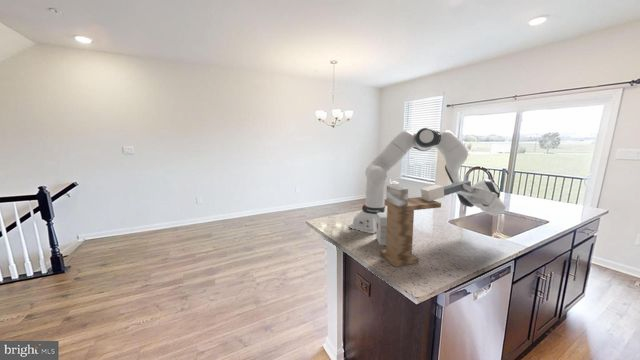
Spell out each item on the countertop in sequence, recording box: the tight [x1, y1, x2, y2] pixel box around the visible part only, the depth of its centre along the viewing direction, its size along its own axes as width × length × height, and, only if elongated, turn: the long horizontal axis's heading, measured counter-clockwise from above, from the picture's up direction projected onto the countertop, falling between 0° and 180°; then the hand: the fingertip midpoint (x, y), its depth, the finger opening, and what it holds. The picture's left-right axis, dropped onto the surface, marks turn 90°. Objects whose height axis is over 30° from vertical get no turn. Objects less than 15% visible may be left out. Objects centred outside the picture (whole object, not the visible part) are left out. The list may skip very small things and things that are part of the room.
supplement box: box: [376, 212, 387, 246], centre depth 127 cm, size 9×9×15 cm
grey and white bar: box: [420, 179, 472, 202], centre depth 112 cm, size 24×5×5 cm, turn 105°
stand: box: [379, 184, 442, 268], centre depth 109 cm, size 22×12×33 cm, turn 105°
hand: (458, 184), depth 113 cm, fingers closed on grey and white bar, 3 cm apart
